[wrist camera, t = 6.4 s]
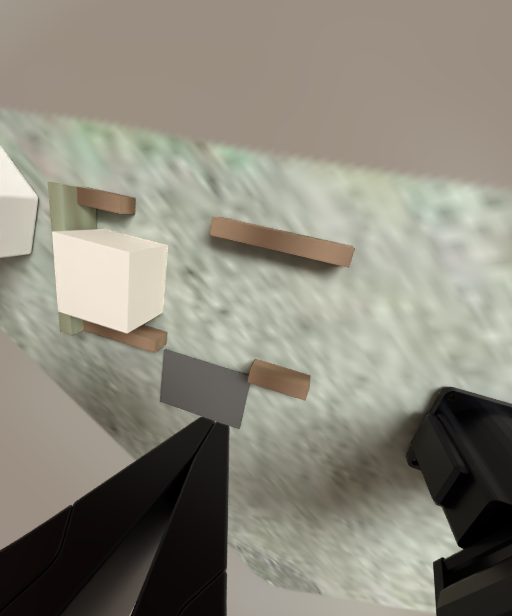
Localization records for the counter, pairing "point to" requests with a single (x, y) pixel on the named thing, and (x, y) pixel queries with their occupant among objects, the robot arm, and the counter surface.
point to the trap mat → (204, 388)
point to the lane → (82, 216)
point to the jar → (15, 210)
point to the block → (109, 277)
